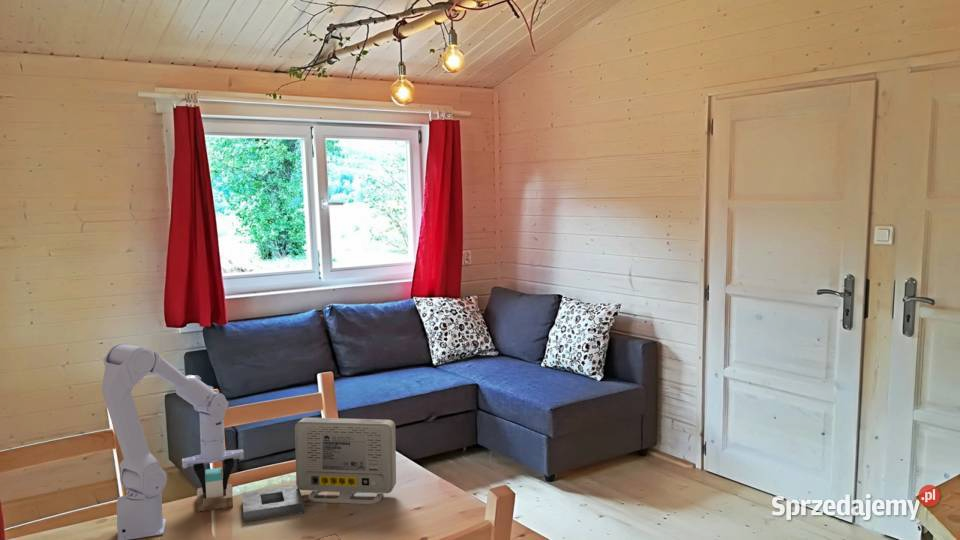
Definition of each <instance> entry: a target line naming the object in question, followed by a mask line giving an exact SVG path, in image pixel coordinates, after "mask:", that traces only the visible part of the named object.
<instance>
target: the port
mask: <svg viewBox="0 0 960 540" xmlns="http://www.w3.org/2000/svg"><path fill="white" fill-rule="evenodd" d="M241 502H242V513H243V515H242V516H243V522H244V523H247V522H254V521H261V520H266V519H273V518H279V517H285V516H292V515H298V514H304V513H305V505H304V503H305V502H304V499H303V496H302V493H301V490H300V489H299V488H298V487H297V485H290V486H289V485H288V486H282V487H275V488H269V489H263V490H256V491H248V492H242V493H241Z"/></svg>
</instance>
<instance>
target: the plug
mask: <svg viewBox="0 0 960 540" xmlns="http://www.w3.org/2000/svg"><path fill="white" fill-rule="evenodd" d="M205 485H206V499H208V498H215V497H222V496H223V467H215V468H208V469H205Z"/></svg>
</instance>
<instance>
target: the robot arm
mask: <svg viewBox="0 0 960 540" xmlns="http://www.w3.org/2000/svg"><path fill="white" fill-rule="evenodd" d="M102 361H103V364H104V373H103V378H102V383H101V393H102V395H103V399H104V402H105V405H106V409H107V411H108V415H109V417H110V421H111V423H112V427H113V429H114V433H115V435H116V438H117V439H116V440H117V442H118V444H119V445H118V446H119V448H120V451H121V455H122V458H123V460H121V462H119V467H120V474H119V481H120V484H121V486H122V487H124V489H126V491H125V493H126V494H125V495H122V496H119V497H117V500H116V529H117V540H135V539H141V538H147V537H149V538H150V537H154V536H155V537H156V536H160V535H161V536H162V535H163V534H164V533H165V529H166V523H167V519H166V518H164V517H163V516H164V515H163V500H162V499H163V498H162V495H163V491H164V489H165V487H166V486H167V482H168V475H167V472H166V471H165V470H164V469H163V468H162V467H161V466H160V463H159V461H158V460H157V458H156V457H155V456H154V455H153V454H152V453H151V452H150V449H149V446H148V442H147V439H146V437H145V432H144V429H143V426H142V423H141V420H140V417H139V414H138V410H137V407H136V404H135V401H134V398H133V394H132V390H133V388H135V386H137V384H138V383H140V381H141V380H143V379H144V377H146V376H147V375H148V374H149V373H150V374H151V373H152V374H154V375H155V376H157V377H159V378H161V379H162V380H164V381H166V382H167V383H169V384H170V385H171V386H174V387H175V394H176V395H177V396H179V397H180V398H182V399H183V400H184V401H186V402H187V403H189V404H190V405H192V406H193V409H194V411H195V412H198V414H199V436H200V438H199V440H200V454H198V455H197V454H196V455H193V456H189V457H184V458H181V466H182V469H188V468H189V467H192V468H193V471H194V473H195V474H196V476H197V477H198V480H199V483H200V485H201V488H202V491H203V493H206V481H205V472H206V469H205V465H208V464H214V463H219V462H220V463H221V466H222V467H221V468H222V477H223V489H224V490H225V489H227V484H229V483H228V482H229V480H230V475H231V473H232V470H233V469H234V466H235V461H234V460H238V459H239V460H243V459H244V458H245V457H244V456H245V455H244V453H245V452H244V449H233V450H226V440H225V418H226V416H225V415H226V411H227V410H228V408H229V401H228V400H227V399H226V396H225V395H224V394H223V393H221V392H215V390H214V388H215V387H214V386H211V385H208V384H207V383H205V382H203V381H202V377H200V375H196V374H194V375H192V374H187V375H185V374H183V372H181V371H180V370H179V369H177V368H176V367H175V366H174V365H172V364H171V363H170V362H169V361H167V360H166V359H165V358H164V357H162V356H161V354H160V353H158V352H155V351H153V350H152V349H151V348H149V347H148V346H136V345H131V344H127V343H122V342H121V343H117V344H114V346H112V347H111V348H110V349H109V350H108V352H107V353H106V355H105V356H104V357H103V360H102Z"/></svg>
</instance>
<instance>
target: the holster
mask: <svg viewBox="0 0 960 540" xmlns="http://www.w3.org/2000/svg"><path fill="white" fill-rule="evenodd" d="M196 489H197V492H196V513H200V511H202V512H207V510H208V511H214V509H215V510H221V509H220V508H222V509H226V508H233V507H234V503H233V501H234V499H233V484H232V483H227V489H225V490H224V489H223V496H222V497H215V498H208V499H204V498H206V493H203V491H202V487H198V488H196Z"/></svg>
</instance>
